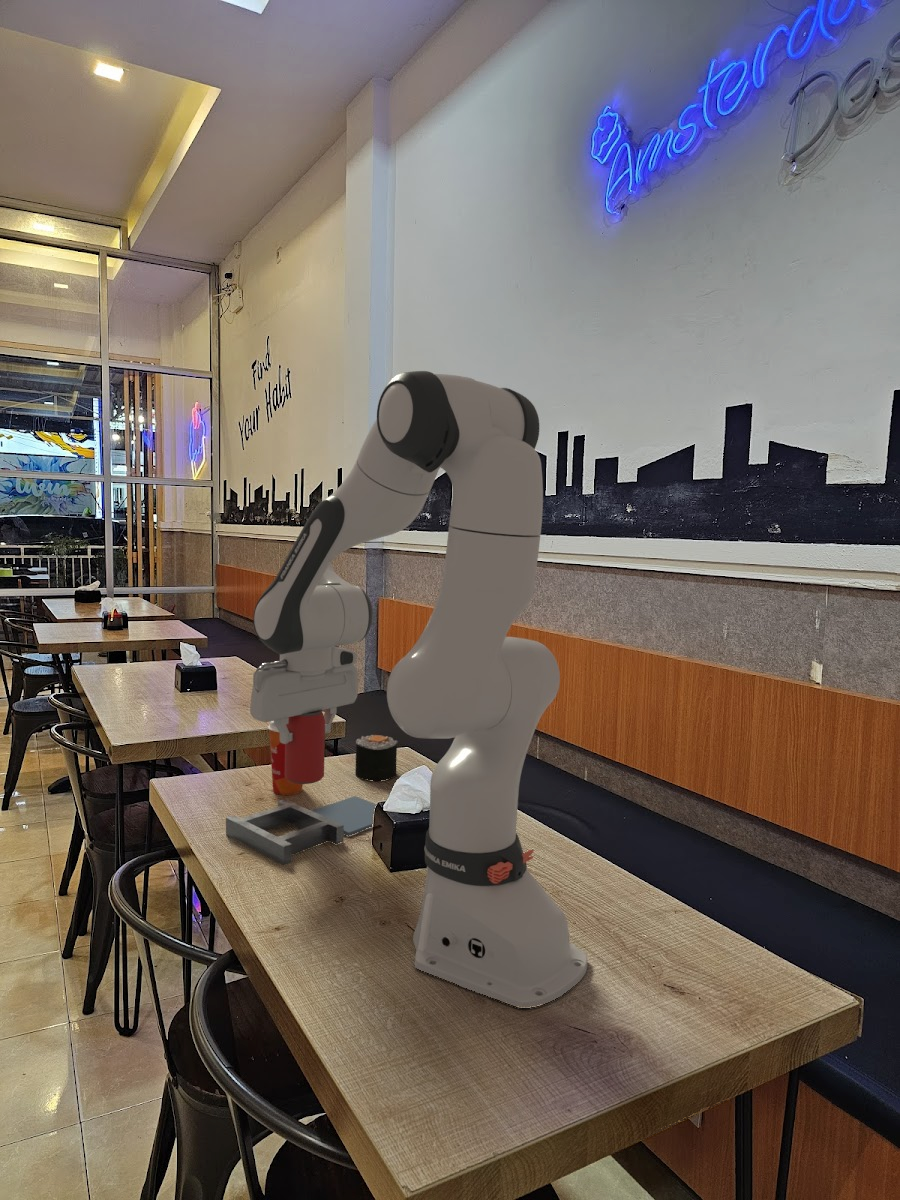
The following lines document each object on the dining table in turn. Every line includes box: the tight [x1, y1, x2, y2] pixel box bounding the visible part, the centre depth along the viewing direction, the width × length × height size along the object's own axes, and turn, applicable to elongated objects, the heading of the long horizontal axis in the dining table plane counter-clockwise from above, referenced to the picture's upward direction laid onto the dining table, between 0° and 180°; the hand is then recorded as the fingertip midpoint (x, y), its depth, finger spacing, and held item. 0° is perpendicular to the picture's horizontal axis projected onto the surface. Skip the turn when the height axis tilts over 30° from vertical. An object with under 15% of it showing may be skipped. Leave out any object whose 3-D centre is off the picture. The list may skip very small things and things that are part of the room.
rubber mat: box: [310, 795, 378, 836], centre depth 139 cm, size 12×12×1 cm
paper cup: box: [267, 721, 304, 796], centre depth 151 cm, size 8×8×14 cm
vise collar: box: [225, 799, 345, 866], centre depth 129 cm, size 16×12×3 cm
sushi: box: [355, 734, 398, 782], centre depth 161 cm, size 8×8×8 cm
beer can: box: [285, 710, 326, 785], centre depth 130 cm, size 7×7×12 cm
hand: (305, 737), depth 130 cm, fingers closed on beer can, 7 cm apart
